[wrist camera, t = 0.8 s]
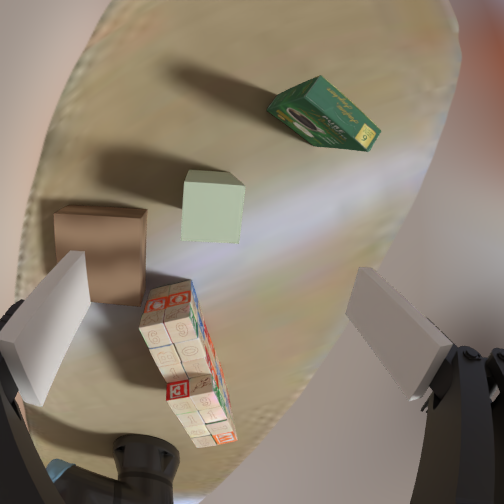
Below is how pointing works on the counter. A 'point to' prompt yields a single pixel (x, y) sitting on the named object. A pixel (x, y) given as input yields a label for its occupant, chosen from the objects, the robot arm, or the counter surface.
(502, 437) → the robot arm
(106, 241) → the walnut block
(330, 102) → the coffee box
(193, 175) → the sage block
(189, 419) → the stack of blocks
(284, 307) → the counter surface
